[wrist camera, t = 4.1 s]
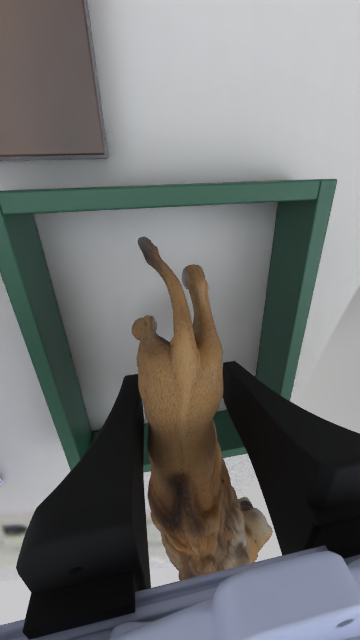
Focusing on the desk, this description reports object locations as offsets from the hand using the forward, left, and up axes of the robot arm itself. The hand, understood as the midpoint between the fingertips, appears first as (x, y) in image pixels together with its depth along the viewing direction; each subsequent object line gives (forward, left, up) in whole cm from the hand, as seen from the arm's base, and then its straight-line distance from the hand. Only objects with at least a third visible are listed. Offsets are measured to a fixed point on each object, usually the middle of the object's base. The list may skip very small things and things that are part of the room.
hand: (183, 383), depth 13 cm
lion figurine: (+1, -1, -3) cm, 3 cm away
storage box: (0, 0, -5) cm, 5 cm away
